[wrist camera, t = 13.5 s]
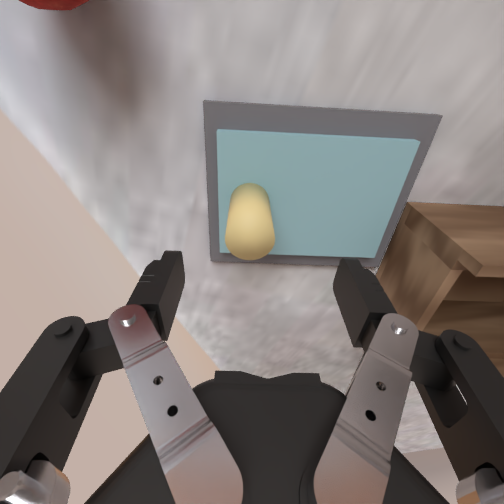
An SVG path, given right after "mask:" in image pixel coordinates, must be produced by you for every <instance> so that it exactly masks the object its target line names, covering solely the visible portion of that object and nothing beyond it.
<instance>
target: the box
mask: <svg viewBox="0 0 504 504" xmlns="http://www.w3.org/2000/svg"><path fill="white" fill-rule="evenodd" d="M376 277H377V279H378V281H379V282H380V285H381V286H382V287H383V289H384V292H385V293H386V294H387V296H388V298H389V299H390V301H391V303H392V305H393V306H394V308H395V310H396V311H397V313H398V314H399V315H402V316H404V317H406V318H408V319H409V320H410V321H412V322H413V323H414V324H415V326H416V327H417V329H418V330H420V331H423V332H427V333H430V334H434V335H437V336H440V335H441V333H442V332H443V331H444V330H448V329H452V330H457V331H460V332H463V333H465V334H467V335H468V336H470V337H471V338H473V339H474V340H475V341H476V342H477V343H478V344H479V345H480V347H481V348H482V349H483V351H484V352H485V353H486V355H487V356H488V357H489V359H490V360H491V361H492V363H493V364H494V365H495V367H496V368H497V369H498V371H499V372H500V374H501V375H502V376H503V378H504V206H482V205H461V204H439V203H418V202H407V203H406V206H405V208H404V211H403V213H402V215H401V218H400V220H399V222H398V225H397V227H396V229H395V232H394V234H393V236H392V239H391V241H390V243H389V246H388V248H387V250H386V253H385V255H384V257H383V260H382V262H381V264H380V267H379V269H378V271H377V274H376Z"/></svg>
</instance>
